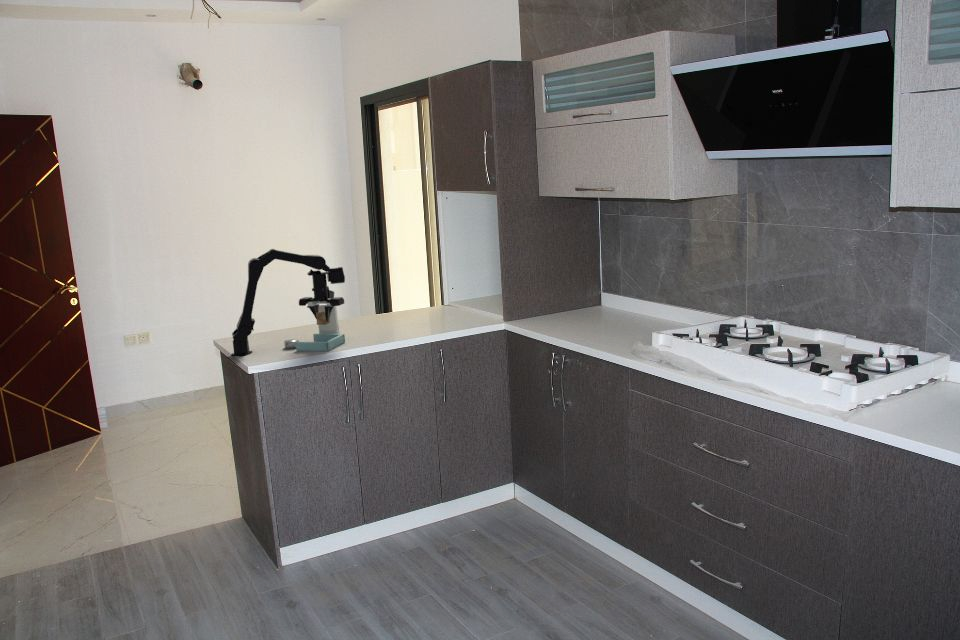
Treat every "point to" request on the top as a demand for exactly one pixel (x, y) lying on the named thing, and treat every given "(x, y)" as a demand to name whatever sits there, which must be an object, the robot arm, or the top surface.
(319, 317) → the walnut block
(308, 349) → the parts bay
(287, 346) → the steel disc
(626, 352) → the top surface
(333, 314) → the skincare box
